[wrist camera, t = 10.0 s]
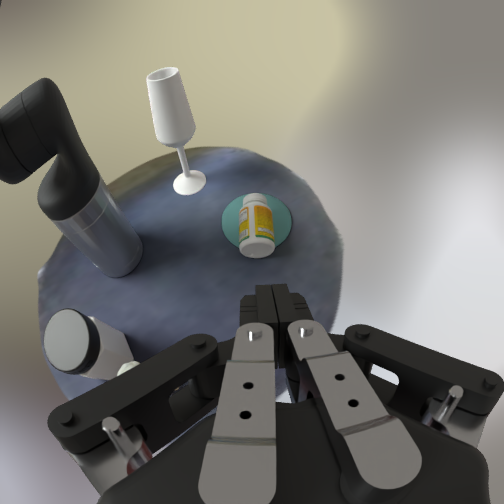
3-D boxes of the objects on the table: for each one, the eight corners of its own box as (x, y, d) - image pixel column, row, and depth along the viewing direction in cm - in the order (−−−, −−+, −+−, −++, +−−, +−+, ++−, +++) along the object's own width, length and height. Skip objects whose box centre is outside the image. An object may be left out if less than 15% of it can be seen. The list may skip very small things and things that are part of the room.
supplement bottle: (234, 245, 39) (233, 194, 44) (245, 261, 44) (243, 212, 48) (271, 238, 38) (266, 187, 43) (278, 255, 43) (273, 206, 47)
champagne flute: (173, 198, 50) (136, 89, 29) (172, 174, 53) (142, 71, 32) (208, 191, 51) (185, 77, 30) (204, 167, 54) (184, 61, 33)
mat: (209, 237, 46) (209, 236, 45) (239, 187, 51) (238, 185, 51) (277, 262, 43) (277, 260, 43) (299, 206, 49) (300, 205, 48)
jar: (85, 375, 34) (37, 365, 24) (90, 328, 38) (46, 305, 27) (132, 385, 34) (89, 379, 24) (136, 333, 38) (97, 310, 27)
